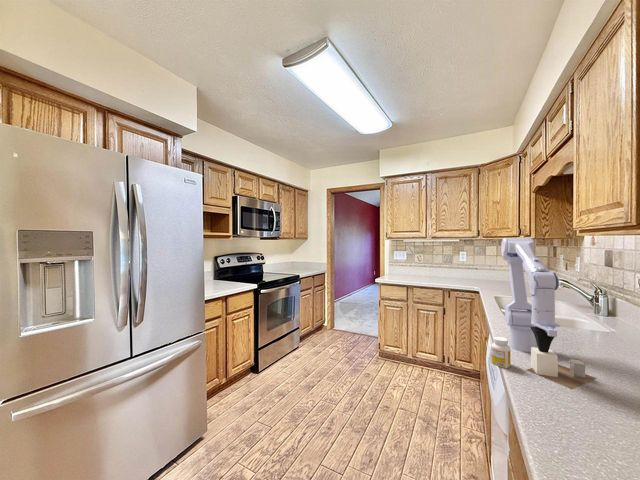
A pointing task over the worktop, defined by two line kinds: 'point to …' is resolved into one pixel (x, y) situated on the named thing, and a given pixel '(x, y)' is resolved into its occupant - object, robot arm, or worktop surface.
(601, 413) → the worktop surface
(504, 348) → the supplement bottle
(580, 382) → the board
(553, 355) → the cream rectangular block
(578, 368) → the post
